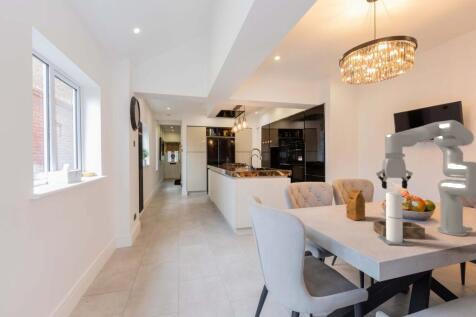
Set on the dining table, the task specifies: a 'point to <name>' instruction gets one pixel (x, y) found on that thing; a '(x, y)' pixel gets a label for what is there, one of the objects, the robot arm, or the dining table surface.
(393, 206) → the cylindrical container
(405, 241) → the slate coaster
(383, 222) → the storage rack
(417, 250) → the dining table surface
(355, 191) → the coffee package
